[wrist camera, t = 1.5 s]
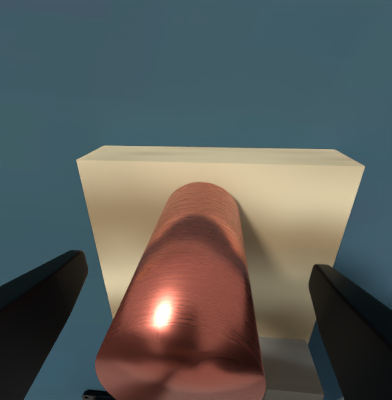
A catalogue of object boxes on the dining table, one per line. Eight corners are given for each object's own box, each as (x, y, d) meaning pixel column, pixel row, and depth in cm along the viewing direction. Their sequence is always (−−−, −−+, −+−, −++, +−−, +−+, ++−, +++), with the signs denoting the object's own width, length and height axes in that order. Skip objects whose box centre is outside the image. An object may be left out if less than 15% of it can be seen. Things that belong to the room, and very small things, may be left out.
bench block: (276, 379, 22) (294, 472, 17) (142, 366, 23) (119, 450, 18) (334, 149, 13) (417, 195, 7) (104, 145, 14) (31, 183, 9)
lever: (227, 405, 19) (232, 572, 12) (173, 399, 19) (149, 559, 13) (251, 181, 10) (301, 335, 4) (154, 179, 11) (57, 316, 4)
